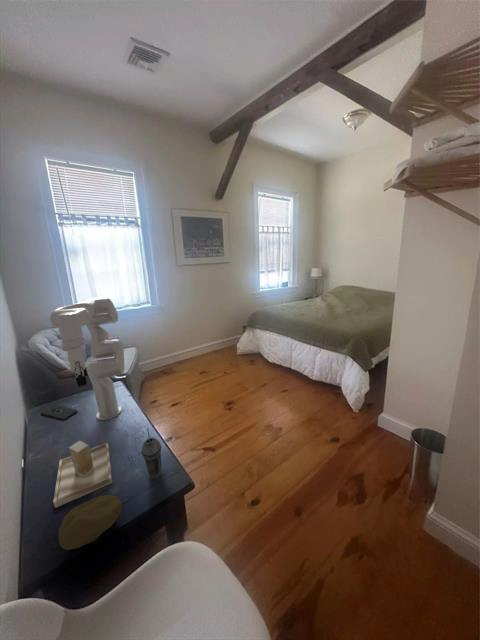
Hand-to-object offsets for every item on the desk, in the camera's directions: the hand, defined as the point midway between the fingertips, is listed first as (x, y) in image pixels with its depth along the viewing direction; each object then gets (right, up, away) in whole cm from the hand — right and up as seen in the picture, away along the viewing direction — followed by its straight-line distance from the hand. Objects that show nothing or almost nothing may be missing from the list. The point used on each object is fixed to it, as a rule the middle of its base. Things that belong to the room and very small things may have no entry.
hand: (82, 380), depth 106 cm
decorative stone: (+21, -41, -28) cm, 54 cm away
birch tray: (+5, -36, -6) cm, 36 cm away
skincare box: (+5, -35, -6) cm, 36 cm away
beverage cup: (+33, -35, -8) cm, 49 cm away
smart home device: (-36, -28, +37) cm, 58 cm away
